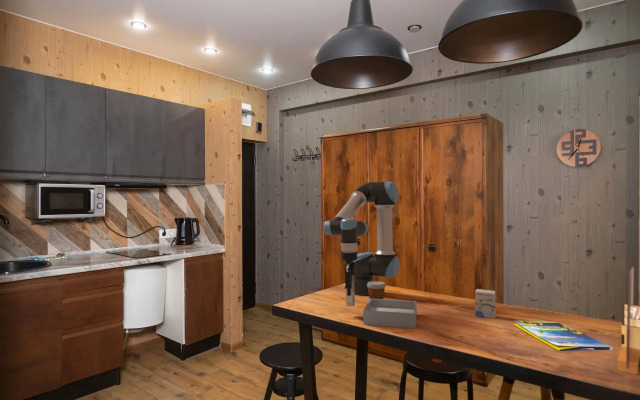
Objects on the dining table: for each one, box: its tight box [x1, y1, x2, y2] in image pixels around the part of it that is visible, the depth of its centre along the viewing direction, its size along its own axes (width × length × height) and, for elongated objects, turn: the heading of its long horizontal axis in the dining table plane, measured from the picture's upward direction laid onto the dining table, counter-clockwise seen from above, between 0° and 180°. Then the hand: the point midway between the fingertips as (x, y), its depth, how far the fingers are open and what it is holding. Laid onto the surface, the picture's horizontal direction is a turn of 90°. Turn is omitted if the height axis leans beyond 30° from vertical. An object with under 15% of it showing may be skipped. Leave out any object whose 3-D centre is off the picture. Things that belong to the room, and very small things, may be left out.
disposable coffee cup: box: [367, 280, 386, 299], centre depth 194 cm, size 10×10×12 cm
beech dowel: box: [345, 275, 356, 307], centre depth 179 cm, size 4×4×14 cm
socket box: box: [362, 298, 418, 329], centre depth 174 cm, size 21×22×6 cm
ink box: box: [474, 288, 497, 320], centre depth 176 cm, size 9×5×12 cm, turn 62°
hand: (350, 300), depth 179 cm, fingers closed on beech dowel, 4 cm apart
